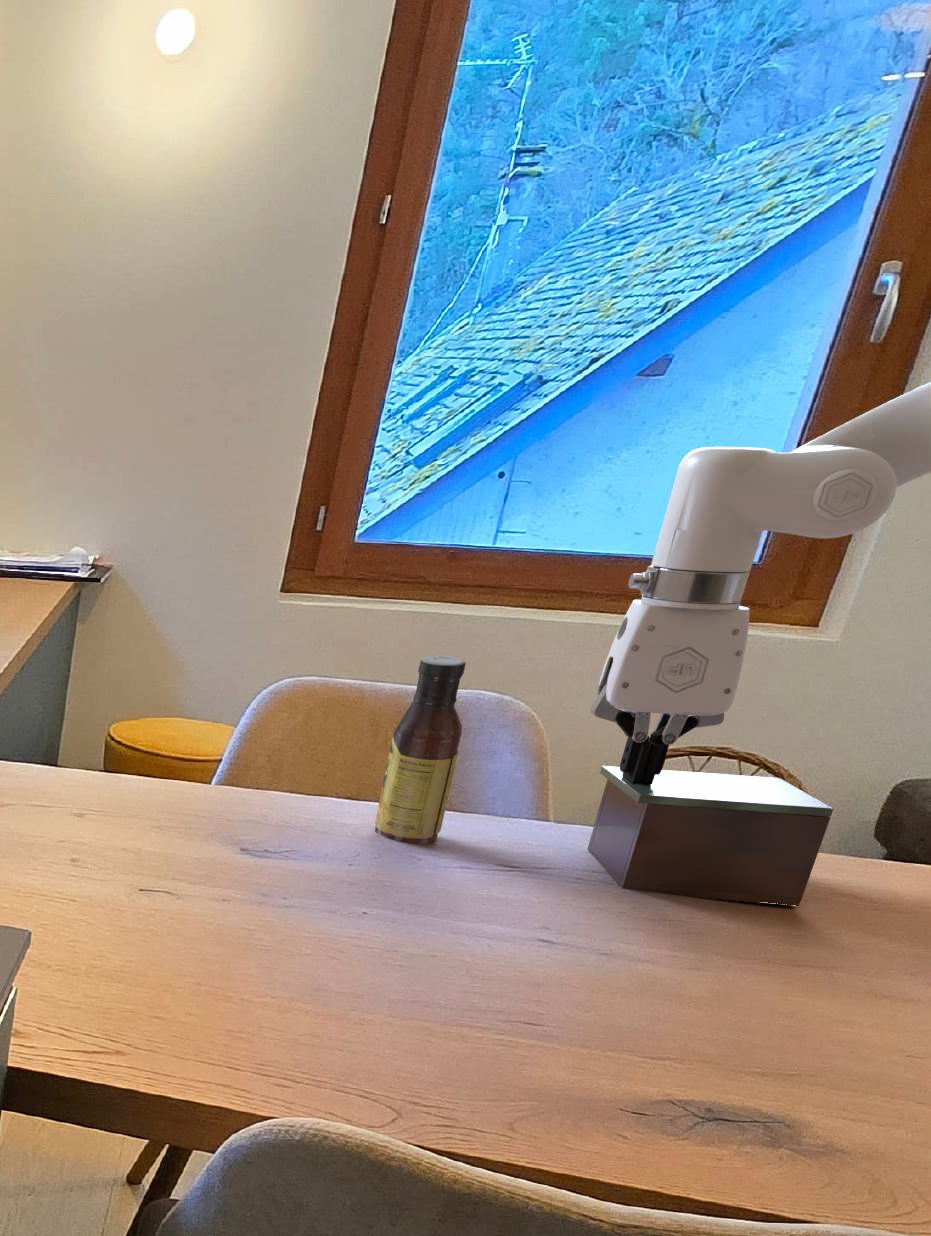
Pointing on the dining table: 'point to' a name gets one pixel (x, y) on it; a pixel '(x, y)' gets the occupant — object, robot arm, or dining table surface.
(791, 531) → the robot arm
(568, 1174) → the dining table surface
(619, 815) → the chest
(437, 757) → the sauce bottle
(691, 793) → the lid
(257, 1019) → the dining table surface
